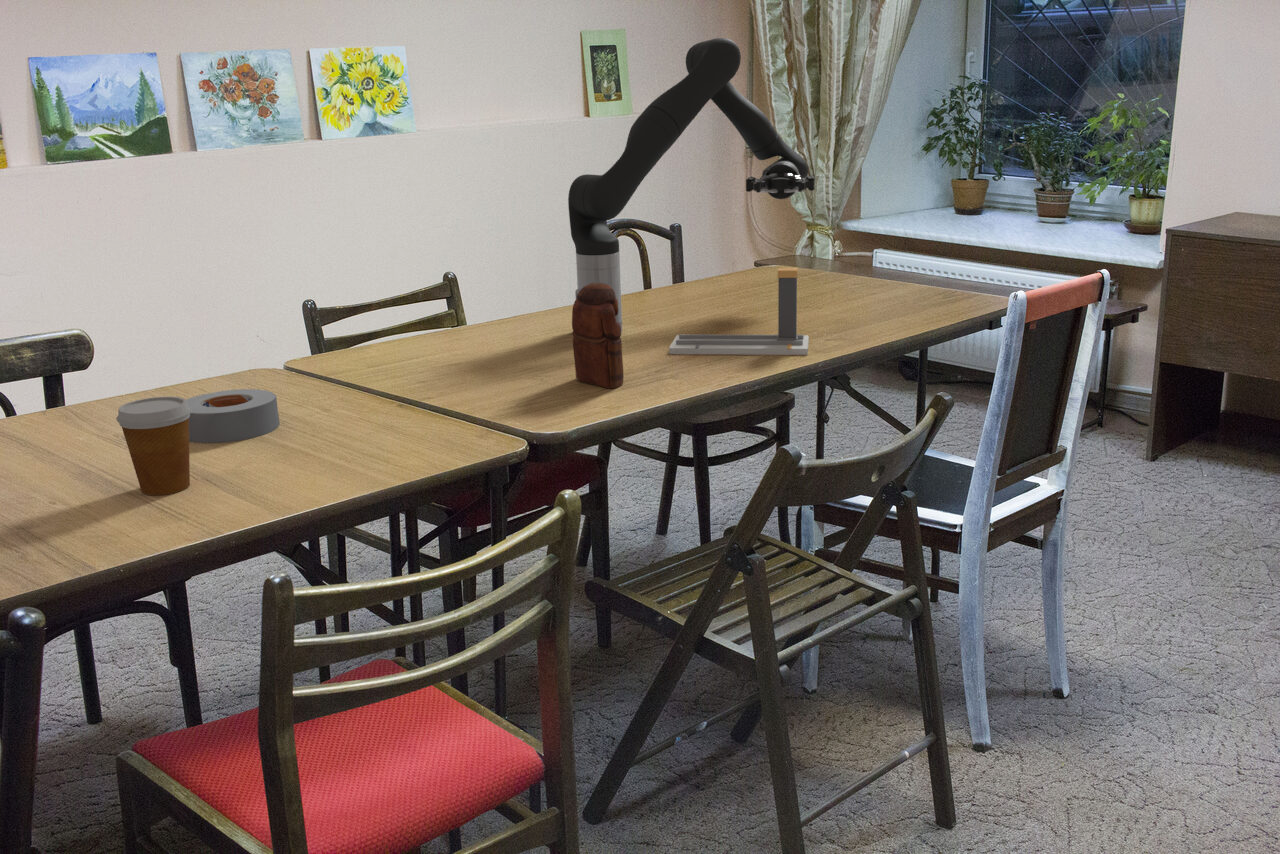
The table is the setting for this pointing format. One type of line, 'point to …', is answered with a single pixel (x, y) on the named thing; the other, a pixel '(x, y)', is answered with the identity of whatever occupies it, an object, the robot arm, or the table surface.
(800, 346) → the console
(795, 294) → the fader
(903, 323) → the table surface
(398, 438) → the table surface
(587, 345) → the wooden figurine
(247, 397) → the tape roll
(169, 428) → the disposable coffee cup
